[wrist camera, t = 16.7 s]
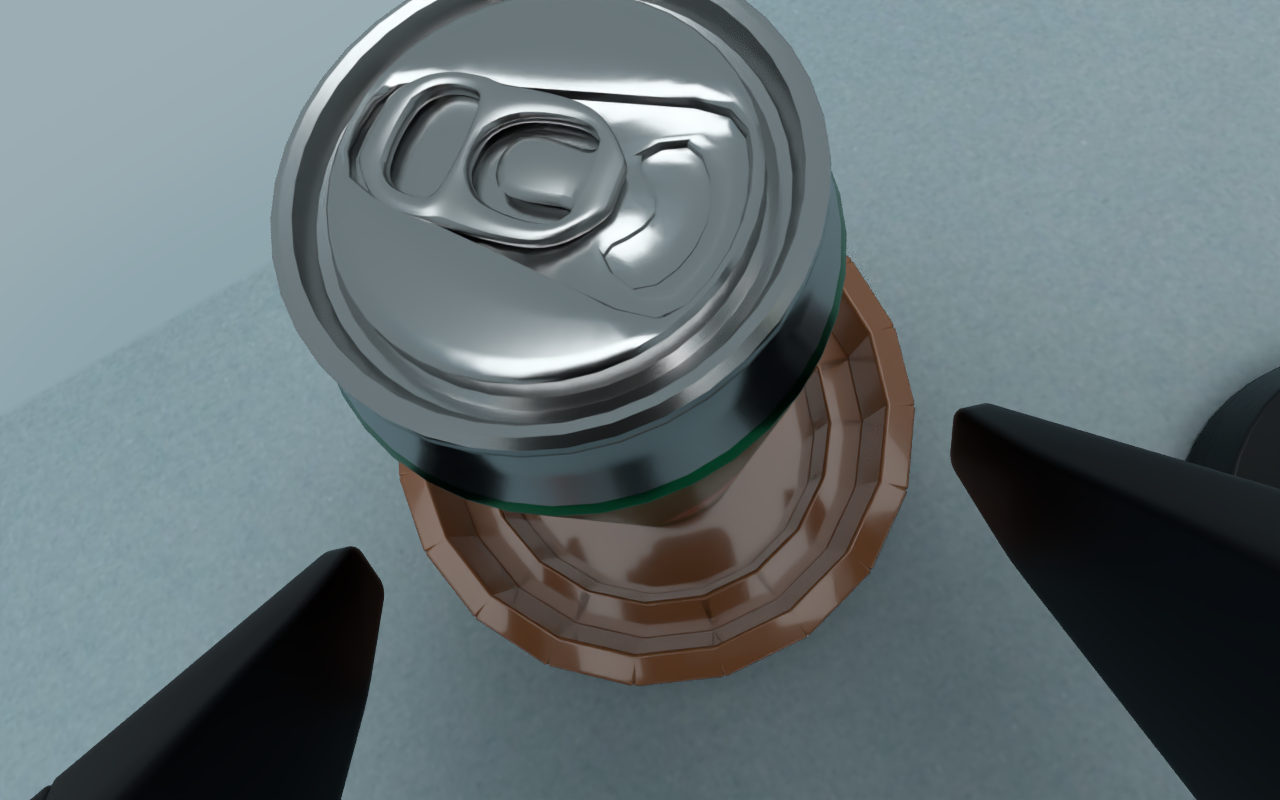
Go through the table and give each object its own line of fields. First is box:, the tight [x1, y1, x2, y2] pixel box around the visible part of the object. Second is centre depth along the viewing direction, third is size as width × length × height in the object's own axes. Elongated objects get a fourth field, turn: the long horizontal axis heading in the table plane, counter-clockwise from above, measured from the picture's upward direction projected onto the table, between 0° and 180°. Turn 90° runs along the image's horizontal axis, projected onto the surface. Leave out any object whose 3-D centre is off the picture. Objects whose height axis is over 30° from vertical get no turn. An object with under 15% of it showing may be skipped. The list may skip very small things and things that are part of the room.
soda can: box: [271, 0, 846, 527], centre depth 10 cm, size 5×5×12 cm
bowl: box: [399, 255, 915, 686], centre depth 14 cm, size 12×12×4 cm
